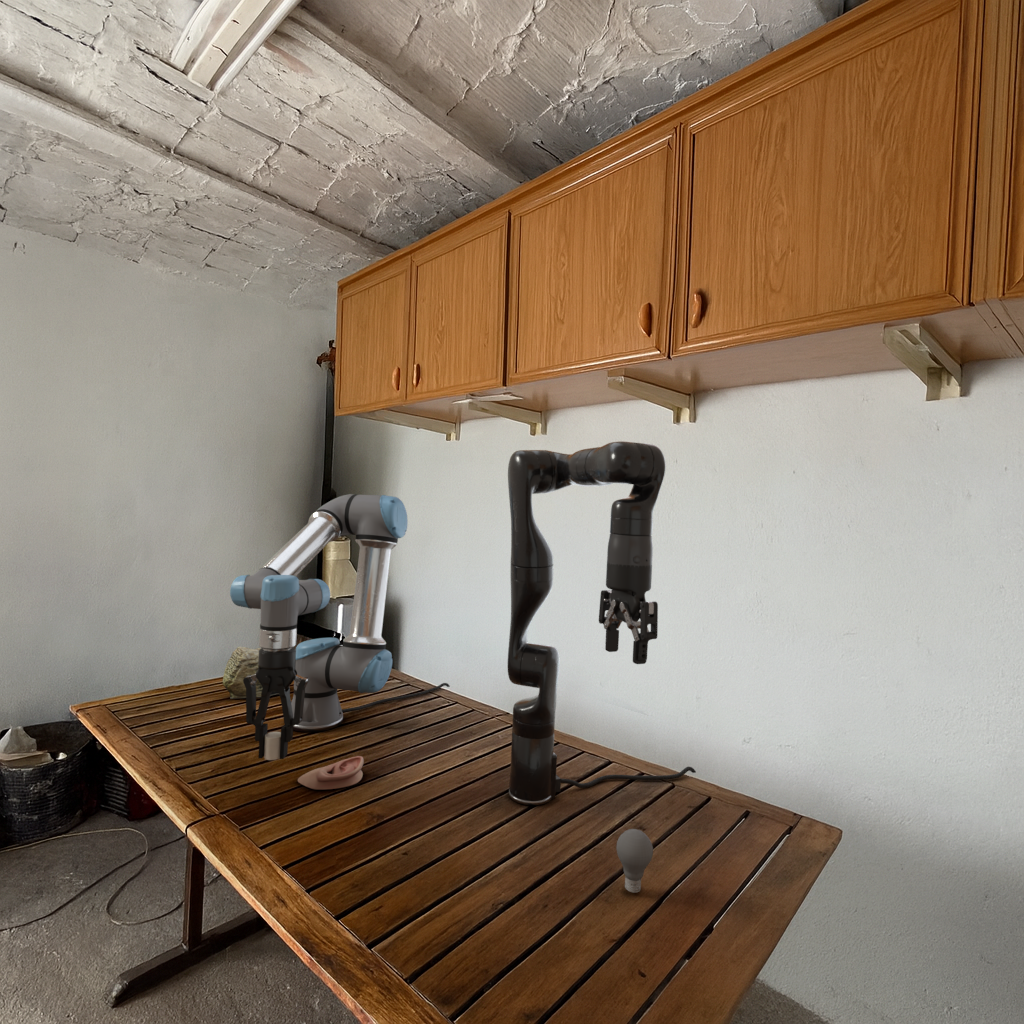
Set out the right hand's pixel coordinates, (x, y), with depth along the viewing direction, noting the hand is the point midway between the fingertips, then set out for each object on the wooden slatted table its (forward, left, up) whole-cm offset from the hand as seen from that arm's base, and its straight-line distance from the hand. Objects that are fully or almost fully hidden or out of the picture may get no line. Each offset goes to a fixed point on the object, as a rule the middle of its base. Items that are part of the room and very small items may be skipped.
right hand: (624, 657), depth 107 cm
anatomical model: (+40, -54, -39) cm, 78 cm away
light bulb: (-2, +3, -39) cm, 39 cm away
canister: (+53, -54, -32) cm, 82 cm away
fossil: (+56, -121, -39) cm, 139 cm away
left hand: (+53, -53, -32) cm, 81 cm away
